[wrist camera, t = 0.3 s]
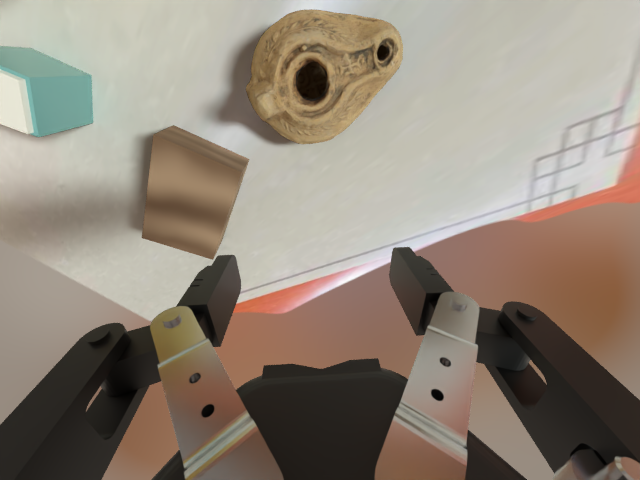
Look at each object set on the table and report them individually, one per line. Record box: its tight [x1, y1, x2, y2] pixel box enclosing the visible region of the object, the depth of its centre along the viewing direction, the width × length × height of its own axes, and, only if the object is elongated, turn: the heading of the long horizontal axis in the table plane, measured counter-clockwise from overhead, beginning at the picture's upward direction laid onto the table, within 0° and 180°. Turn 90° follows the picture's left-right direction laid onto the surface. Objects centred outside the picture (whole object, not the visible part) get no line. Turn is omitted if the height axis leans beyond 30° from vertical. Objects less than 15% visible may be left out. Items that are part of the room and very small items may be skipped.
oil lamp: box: [246, 10, 403, 144], centre depth 23 cm, size 11×15×8 cm
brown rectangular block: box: [142, 126, 249, 259], centre depth 31 cm, size 14×9×5 cm, turn 153°
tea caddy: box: [0, 46, 93, 137], centre depth 22 cm, size 5×5×8 cm
